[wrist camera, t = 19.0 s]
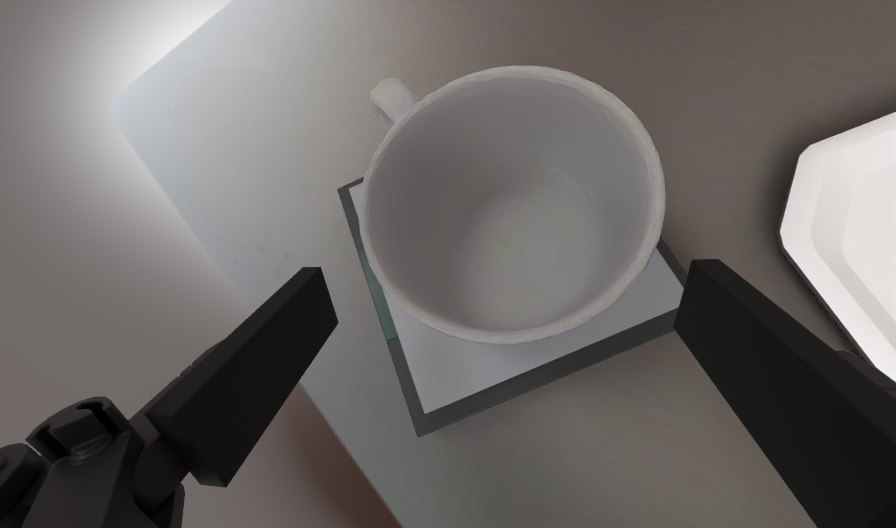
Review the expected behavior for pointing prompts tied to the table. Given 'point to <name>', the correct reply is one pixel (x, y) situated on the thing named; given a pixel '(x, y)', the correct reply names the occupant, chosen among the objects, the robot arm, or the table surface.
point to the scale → (517, 365)
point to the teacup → (509, 202)
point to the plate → (848, 234)
